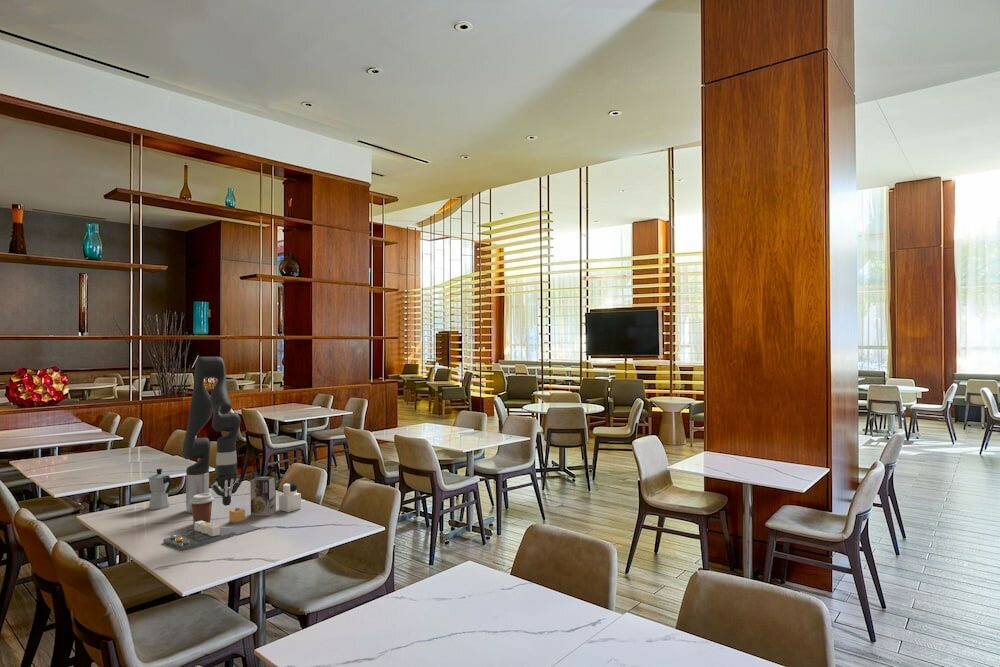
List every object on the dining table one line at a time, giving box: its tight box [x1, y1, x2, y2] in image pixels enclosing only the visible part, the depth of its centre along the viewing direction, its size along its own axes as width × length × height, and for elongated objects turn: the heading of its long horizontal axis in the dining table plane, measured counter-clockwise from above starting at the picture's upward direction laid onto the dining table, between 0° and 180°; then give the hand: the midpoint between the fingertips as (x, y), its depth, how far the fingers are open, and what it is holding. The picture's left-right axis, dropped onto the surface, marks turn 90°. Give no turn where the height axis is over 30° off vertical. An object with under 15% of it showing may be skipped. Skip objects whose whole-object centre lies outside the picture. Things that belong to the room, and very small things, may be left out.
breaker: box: [208, 524, 220, 536], centre depth 226 cm, size 4×3×3 cm
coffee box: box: [250, 476, 277, 517], centre depth 260 cm, size 9×6×16 cm
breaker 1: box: [194, 520, 206, 532], centre depth 232 cm, size 4×3×3 cm
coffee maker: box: [147, 468, 174, 511], centre depth 272 cm, size 15×9×18 cm, turn 67°
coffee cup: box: [190, 492, 215, 527], centre depth 246 cm, size 9×9×12 cm
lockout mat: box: [226, 522, 261, 536], centre depth 238 cm, size 10×10×1 cm
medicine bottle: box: [278, 482, 302, 513], centre depth 267 cm, size 7×7×12 cm
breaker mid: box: [201, 522, 214, 534], centre depth 229 cm, size 4×3×3 cm
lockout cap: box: [228, 507, 246, 525], centre depth 249 cm, size 5×5×6 cm
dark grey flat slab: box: [162, 527, 235, 551], centre depth 226 cm, size 15×20×2 cm
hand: (226, 505), depth 236 cm, fingers closed
